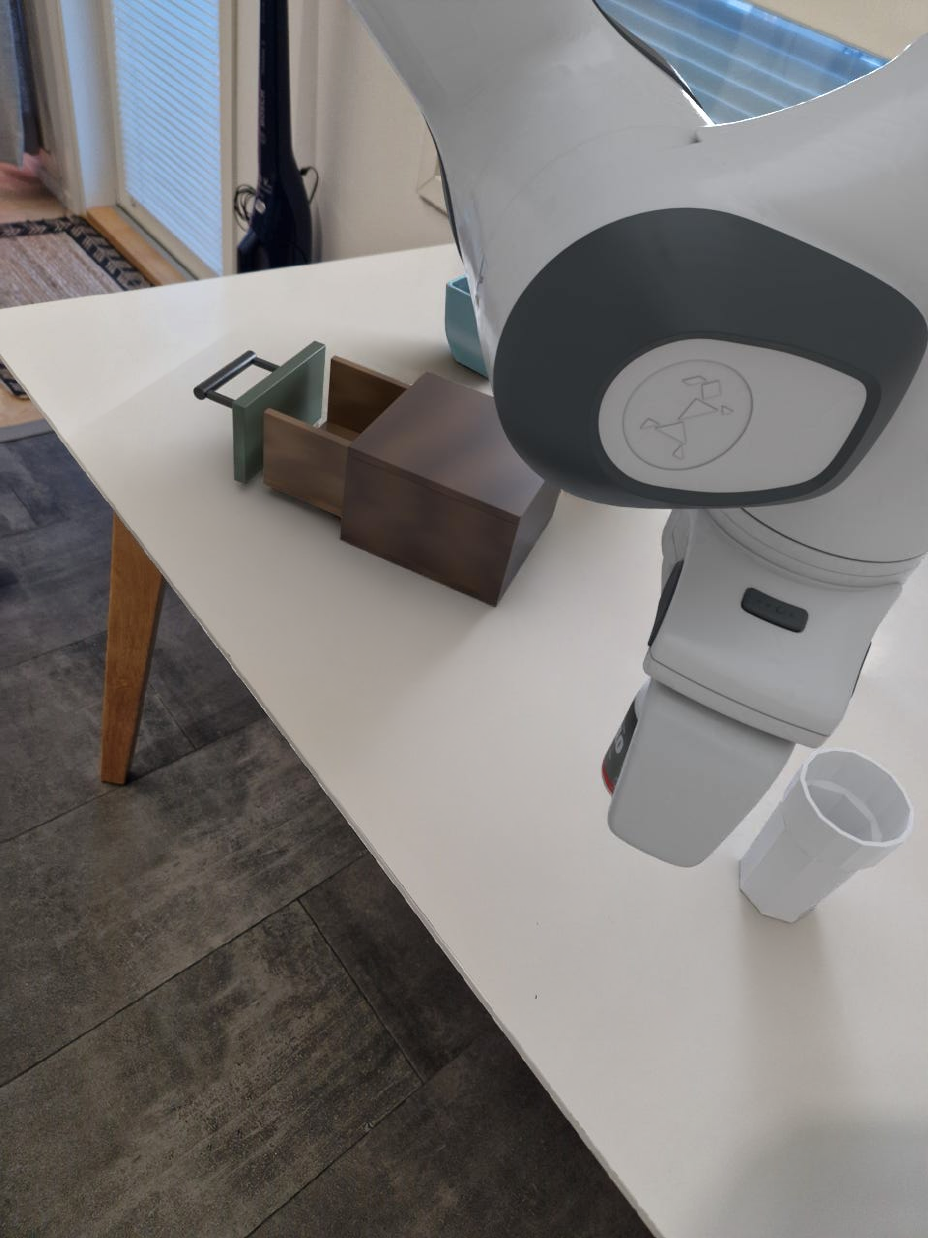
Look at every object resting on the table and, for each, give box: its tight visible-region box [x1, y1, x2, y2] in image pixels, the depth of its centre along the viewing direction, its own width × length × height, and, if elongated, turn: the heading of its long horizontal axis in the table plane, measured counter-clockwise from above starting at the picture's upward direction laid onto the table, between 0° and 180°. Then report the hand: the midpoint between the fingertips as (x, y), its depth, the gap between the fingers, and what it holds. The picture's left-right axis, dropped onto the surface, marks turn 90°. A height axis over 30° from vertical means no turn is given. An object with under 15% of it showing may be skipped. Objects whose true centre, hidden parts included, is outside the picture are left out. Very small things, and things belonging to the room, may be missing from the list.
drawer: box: [192, 340, 412, 518], centre depth 76 cm, size 19×13×8 cm
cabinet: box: [339, 370, 562, 608], centre depth 74 cm, size 15×14×10 cm
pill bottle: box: [600, 678, 651, 798], centre depth 43 cm, size 5×5×8 cm
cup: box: [739, 746, 916, 924], centre depth 53 cm, size 7×7×11 cm
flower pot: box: [444, 274, 489, 379], centre depth 95 cm, size 9×9×9 cm
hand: (662, 748), depth 43 cm, fingers closed on pill bottle, 5 cm apart
